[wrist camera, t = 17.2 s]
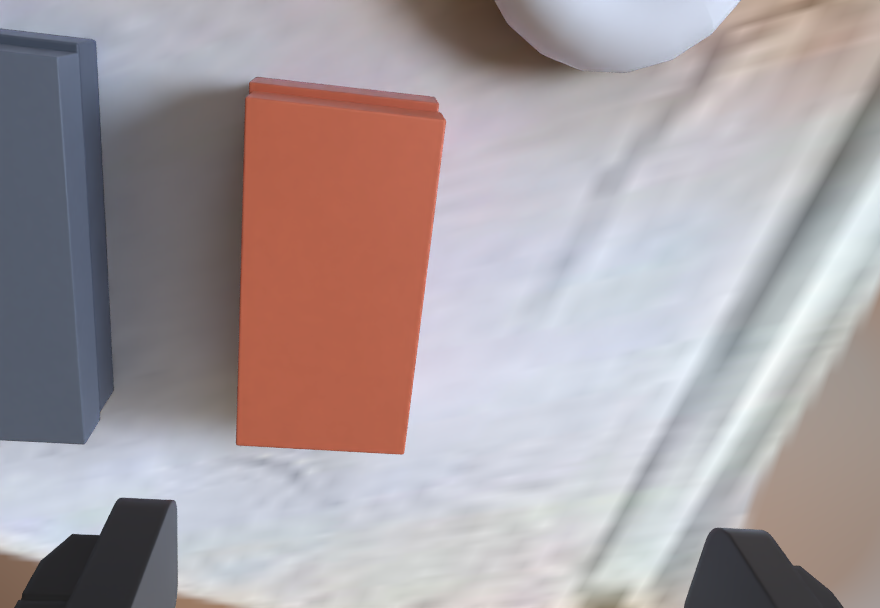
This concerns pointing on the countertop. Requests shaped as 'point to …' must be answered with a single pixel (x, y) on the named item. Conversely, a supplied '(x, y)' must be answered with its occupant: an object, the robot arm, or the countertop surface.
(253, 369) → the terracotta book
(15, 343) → the grey rectangular block
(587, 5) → the donut
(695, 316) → the countertop surface
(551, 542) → the countertop surface
